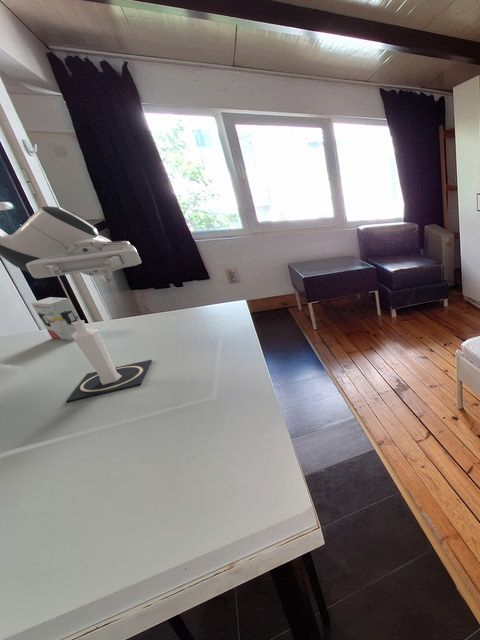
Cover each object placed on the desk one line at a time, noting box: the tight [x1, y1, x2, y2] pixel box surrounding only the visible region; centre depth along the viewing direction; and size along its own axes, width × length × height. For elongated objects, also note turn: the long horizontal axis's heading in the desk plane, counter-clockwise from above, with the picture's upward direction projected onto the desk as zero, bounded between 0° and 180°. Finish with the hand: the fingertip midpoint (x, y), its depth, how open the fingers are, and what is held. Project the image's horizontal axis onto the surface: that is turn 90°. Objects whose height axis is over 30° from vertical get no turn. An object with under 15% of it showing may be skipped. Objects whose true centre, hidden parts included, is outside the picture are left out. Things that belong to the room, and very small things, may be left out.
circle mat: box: [66, 359, 153, 403], centre depth 88 cm, size 13×14×1 cm
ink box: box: [30, 296, 81, 341], centre depth 111 cm, size 9×5×12 cm, turn 76°
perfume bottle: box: [71, 319, 122, 385], centre depth 83 cm, size 5×4×15 cm
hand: (83, 267), depth 85 cm, fingers open, 8 cm apart
